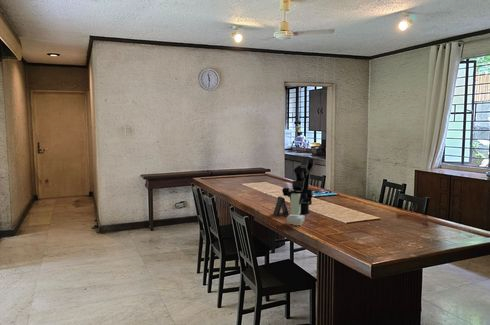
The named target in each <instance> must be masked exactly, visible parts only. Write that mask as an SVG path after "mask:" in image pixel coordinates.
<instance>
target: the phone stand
mask: <svg viewBox="0 0 490 325" xmlns="http://www.w3.org/2000/svg"><path fill="white" fill-rule="evenodd" d="M276 198H277V199H276V200H277V202H276V205H275V207H274V210H273V215H275V216H277V217H280V215H282V216H289V215H290V214H289V211H288V208H287V205H286V202H285V201H286V200H285V198H284V197H283V196H277V197H276ZM281 211H282V212H281Z"/></svg>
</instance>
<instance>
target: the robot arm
mask: <svg viewBox="0 0 490 325" xmlns="http://www.w3.org/2000/svg"><path fill="white" fill-rule="evenodd" d="M314 167H315V161H314V159H313V158H311V157H310V156H302V158H301V162H300V165H297V166H296V167H295V168H294V169H293V173H294V177H295V180H293V181H292V184H291V186H292V189H290V188H289V187H283V188H282V190H281V191H282V194H283V196H284V197H288V198H289V202H290V204H291V194H292V193H298V194H301V198H300V201H299V205H300V204H301V206H300V214H305V215H308V214H309V213H311V211H310V210H309V209H310V206H311V205H312V203H313V201H312V198H313V197H314V193H313V192H314V191H313V189H309V188H310V179H311V178H310V177H311V172H312V171H313V169H314Z"/></svg>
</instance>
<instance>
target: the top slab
mask: <svg viewBox="0 0 490 325" xmlns="http://www.w3.org/2000/svg"><path fill="white" fill-rule="evenodd" d="M305 215H306V214H305ZM305 215H303V214H299V215H291V213H290V214H289V215H287V216H286V222H287V221H289V222H299V223H301V222H302V221H303V220H304V221H305V218H306V216H305Z"/></svg>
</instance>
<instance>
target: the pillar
mask: <svg viewBox="0 0 490 325" xmlns="http://www.w3.org/2000/svg"><path fill="white" fill-rule="evenodd" d="M300 198H301V194H298V193H292V194H291V203H290V214H291V215H301V213H300V206H301V204H300V205H299V201H300Z"/></svg>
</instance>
